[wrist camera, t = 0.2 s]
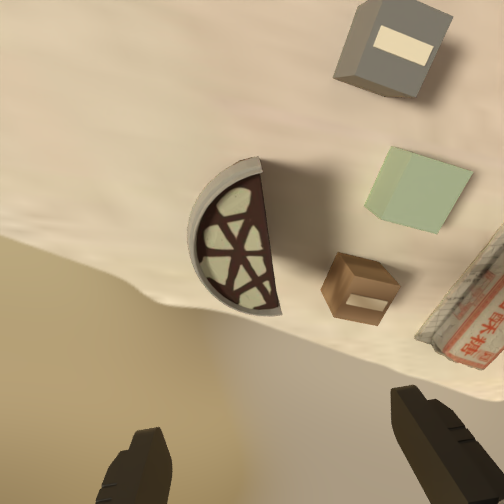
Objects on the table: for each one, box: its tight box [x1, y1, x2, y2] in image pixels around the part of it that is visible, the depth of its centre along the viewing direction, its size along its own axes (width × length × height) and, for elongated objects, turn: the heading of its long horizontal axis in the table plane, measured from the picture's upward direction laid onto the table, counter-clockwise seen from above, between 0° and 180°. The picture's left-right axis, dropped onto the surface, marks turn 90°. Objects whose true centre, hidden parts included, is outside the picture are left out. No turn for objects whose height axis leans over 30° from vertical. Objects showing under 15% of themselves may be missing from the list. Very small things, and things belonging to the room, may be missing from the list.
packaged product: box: [414, 223, 504, 370], centre depth 36 cm, size 18×5×10 cm
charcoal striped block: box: [333, 0, 453, 98], centre depth 23 cm, size 5×5×5 cm
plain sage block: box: [364, 146, 473, 234], centre depth 29 cm, size 6×6×4 cm
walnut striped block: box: [321, 252, 401, 326], centre depth 33 cm, size 5×5×5 cm
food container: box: [187, 156, 282, 316], centre depth 26 cm, size 12×6×10 cm, turn 9°
